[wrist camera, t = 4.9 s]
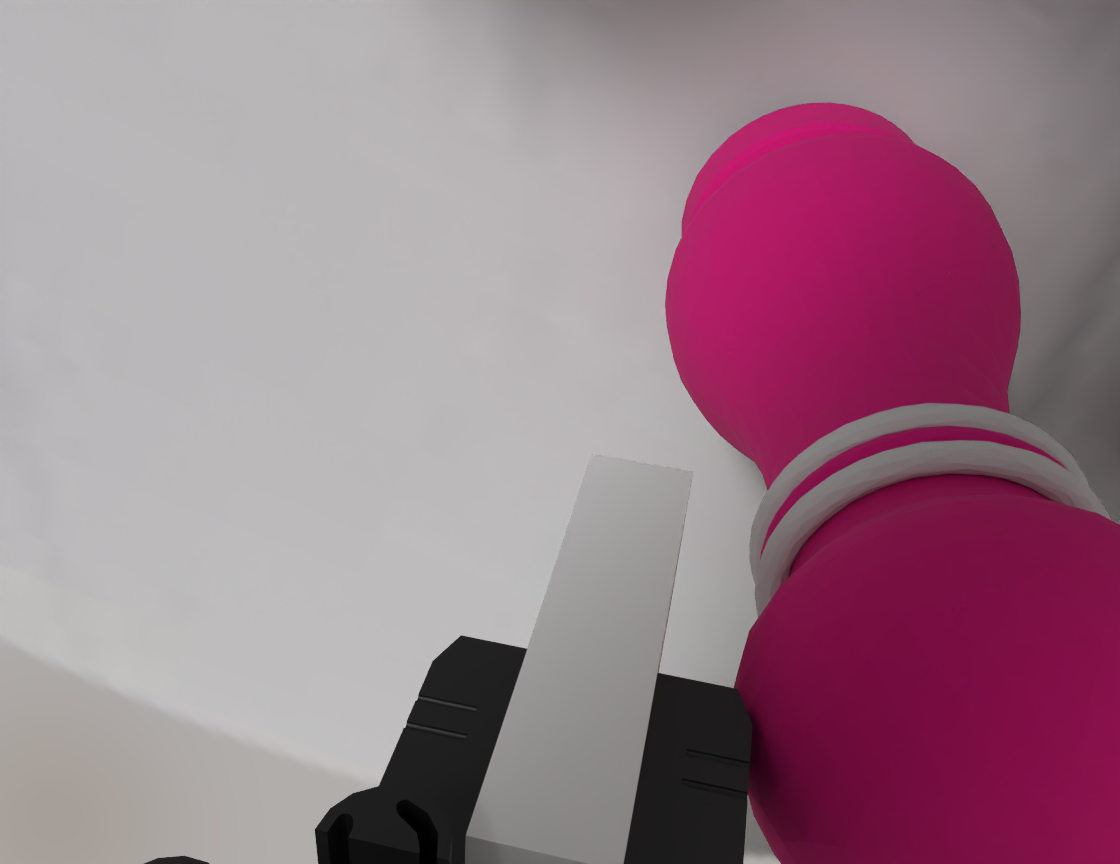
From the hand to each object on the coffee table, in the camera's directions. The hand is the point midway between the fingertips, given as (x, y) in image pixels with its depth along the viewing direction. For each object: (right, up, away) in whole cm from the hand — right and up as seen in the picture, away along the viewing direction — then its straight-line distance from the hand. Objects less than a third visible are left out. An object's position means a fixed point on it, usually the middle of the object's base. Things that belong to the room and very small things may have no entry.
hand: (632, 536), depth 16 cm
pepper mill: (+5, +7, +10) cm, 14 cm away
